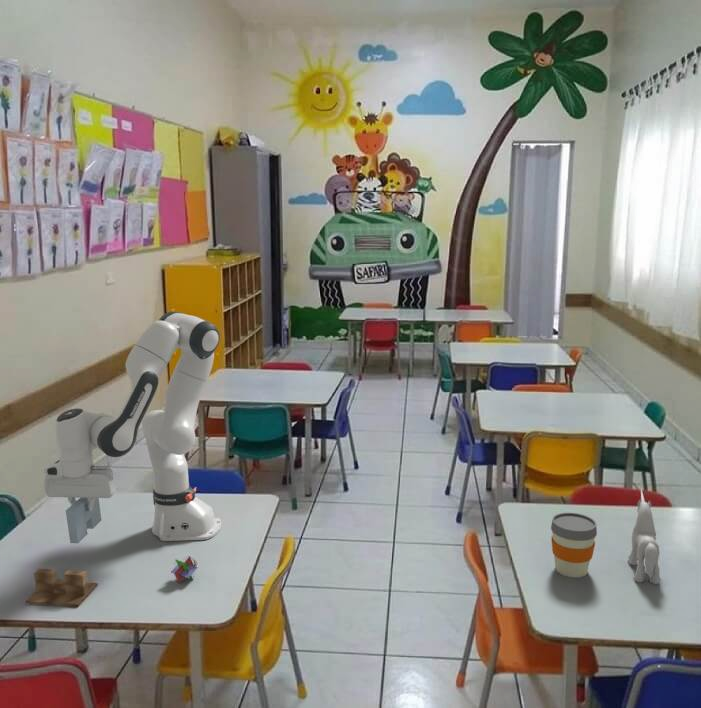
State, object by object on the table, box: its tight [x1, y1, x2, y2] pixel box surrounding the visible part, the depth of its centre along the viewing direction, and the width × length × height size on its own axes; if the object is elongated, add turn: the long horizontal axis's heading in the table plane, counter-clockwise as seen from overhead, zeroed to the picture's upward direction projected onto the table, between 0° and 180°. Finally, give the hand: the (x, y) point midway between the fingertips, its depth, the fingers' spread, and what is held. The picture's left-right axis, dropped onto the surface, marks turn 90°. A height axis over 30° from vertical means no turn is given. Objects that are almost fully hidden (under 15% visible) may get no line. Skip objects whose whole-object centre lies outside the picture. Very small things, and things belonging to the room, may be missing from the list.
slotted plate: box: [65, 498, 102, 544], centre depth 205 cm, size 14×2×10 cm, turn 173°
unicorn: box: [627, 488, 661, 585], centre depth 204 cm, size 8×25×20 cm, turn 167°
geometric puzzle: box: [170, 556, 199, 584], centre depth 201 cm, size 7×7×8 cm
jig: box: [25, 567, 99, 608], centre depth 194 cm, size 15×11×7 cm
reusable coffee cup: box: [550, 512, 598, 578], centre depth 203 cm, size 13×13×15 cm
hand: (83, 510), depth 205 cm, fingers closed on slotted plate, 2 cm apart
